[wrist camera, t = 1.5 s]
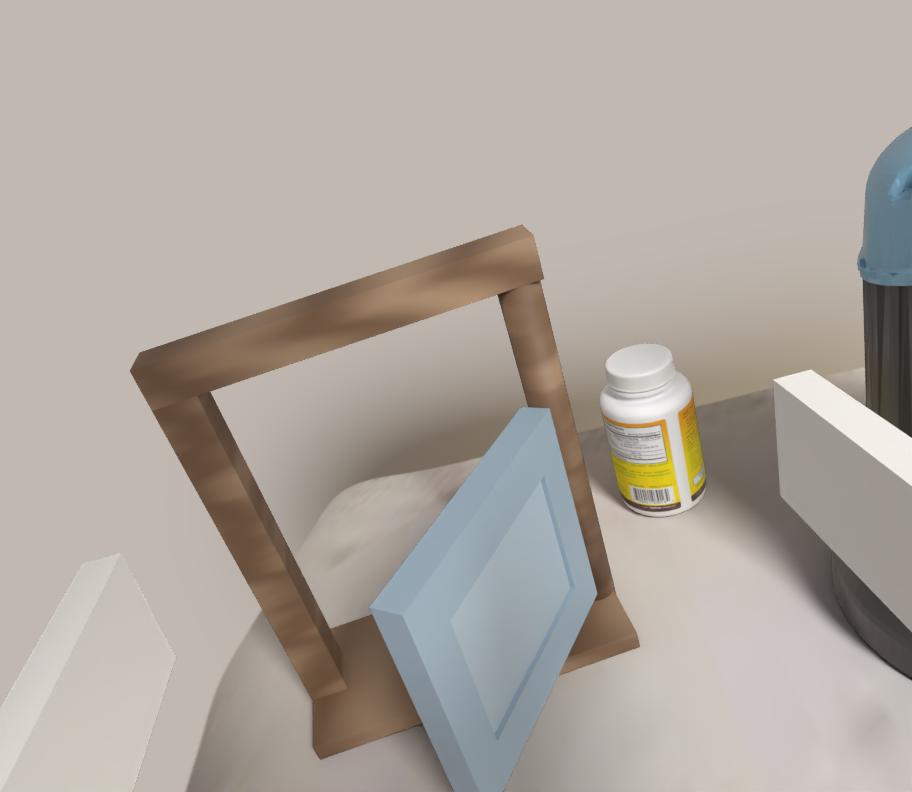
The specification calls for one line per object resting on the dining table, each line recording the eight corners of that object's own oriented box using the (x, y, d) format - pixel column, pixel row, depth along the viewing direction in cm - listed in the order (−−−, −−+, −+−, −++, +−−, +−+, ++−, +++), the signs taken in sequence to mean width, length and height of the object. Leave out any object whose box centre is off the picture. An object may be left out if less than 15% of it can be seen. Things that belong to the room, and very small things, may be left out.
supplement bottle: (680, 457, 52) (659, 327, 47) (724, 500, 47) (705, 359, 42) (606, 486, 51) (577, 357, 46) (643, 533, 46) (614, 394, 41)
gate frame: (592, 551, 46) (506, 210, 36) (643, 645, 39) (554, 253, 29) (318, 646, 46) (152, 328, 35) (320, 759, 38) (112, 402, 28)
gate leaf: (572, 588, 41) (521, 407, 35) (597, 593, 40) (549, 408, 35) (460, 806, 32) (369, 607, 26) (490, 817, 31) (402, 615, 26)
